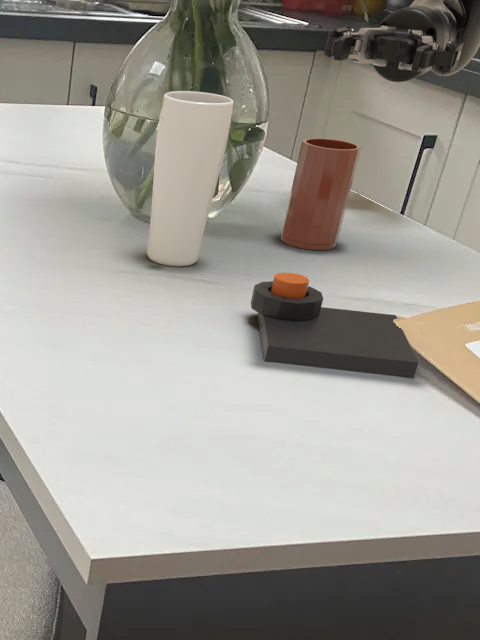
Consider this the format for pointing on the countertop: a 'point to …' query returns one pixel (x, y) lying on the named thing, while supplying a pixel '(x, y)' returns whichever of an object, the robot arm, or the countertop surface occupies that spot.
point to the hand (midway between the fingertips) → (377, 54)
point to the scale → (330, 335)
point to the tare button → (290, 285)
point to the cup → (320, 193)
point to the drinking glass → (186, 173)
